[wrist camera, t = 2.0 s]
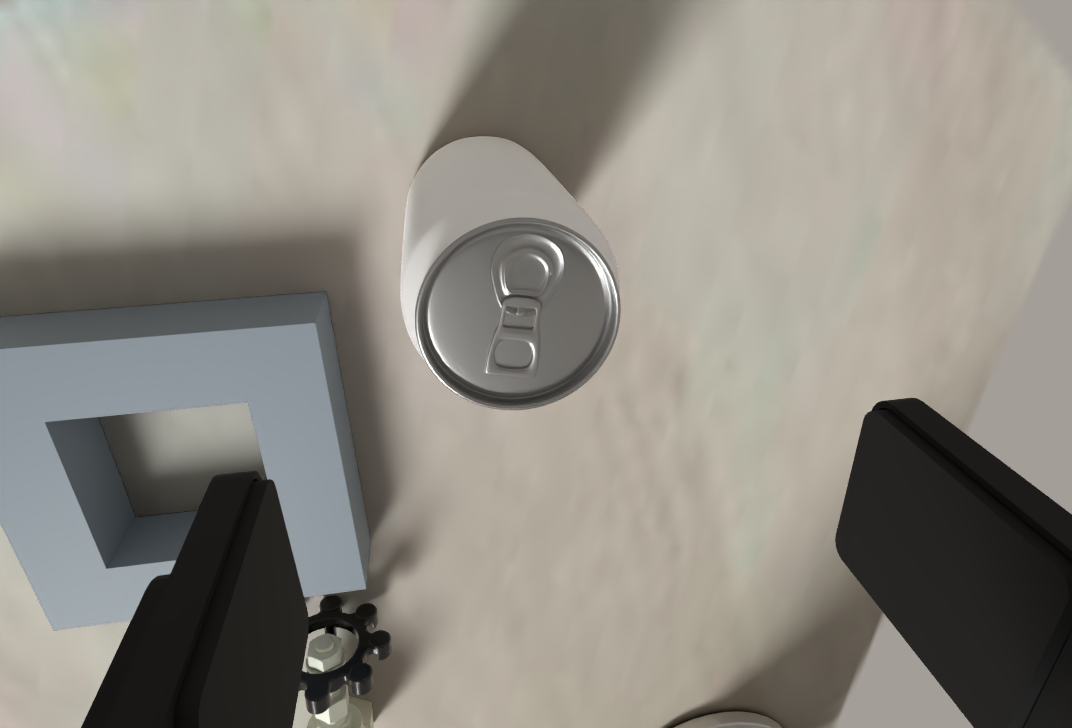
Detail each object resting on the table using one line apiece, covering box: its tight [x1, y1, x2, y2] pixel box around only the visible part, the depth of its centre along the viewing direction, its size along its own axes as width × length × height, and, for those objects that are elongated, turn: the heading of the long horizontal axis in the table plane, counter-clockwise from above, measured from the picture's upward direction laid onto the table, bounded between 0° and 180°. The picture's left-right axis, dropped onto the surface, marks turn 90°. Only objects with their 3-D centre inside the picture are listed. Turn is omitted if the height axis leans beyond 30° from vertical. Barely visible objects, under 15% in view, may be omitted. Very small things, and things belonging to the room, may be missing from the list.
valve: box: [299, 596, 391, 728], centre depth 37 cm, size 7×7×12 cm
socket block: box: [0, 292, 371, 631], centre depth 30 cm, size 14×14×4 cm
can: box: [401, 136, 620, 410], centre depth 23 cm, size 6×6×12 cm
